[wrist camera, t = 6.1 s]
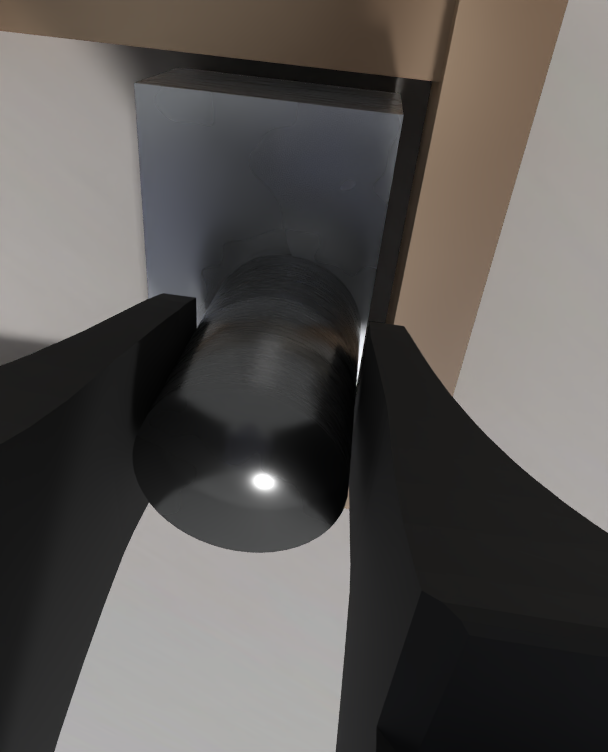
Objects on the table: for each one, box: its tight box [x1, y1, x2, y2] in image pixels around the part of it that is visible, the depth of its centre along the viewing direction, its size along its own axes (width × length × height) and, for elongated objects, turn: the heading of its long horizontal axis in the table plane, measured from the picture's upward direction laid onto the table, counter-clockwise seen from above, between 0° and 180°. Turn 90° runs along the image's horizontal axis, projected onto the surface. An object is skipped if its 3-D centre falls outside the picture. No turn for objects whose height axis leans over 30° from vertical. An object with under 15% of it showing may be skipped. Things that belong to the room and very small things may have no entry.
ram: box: [132, 67, 403, 553], centre depth 11 cm, size 4×8×7 cm, turn 175°
